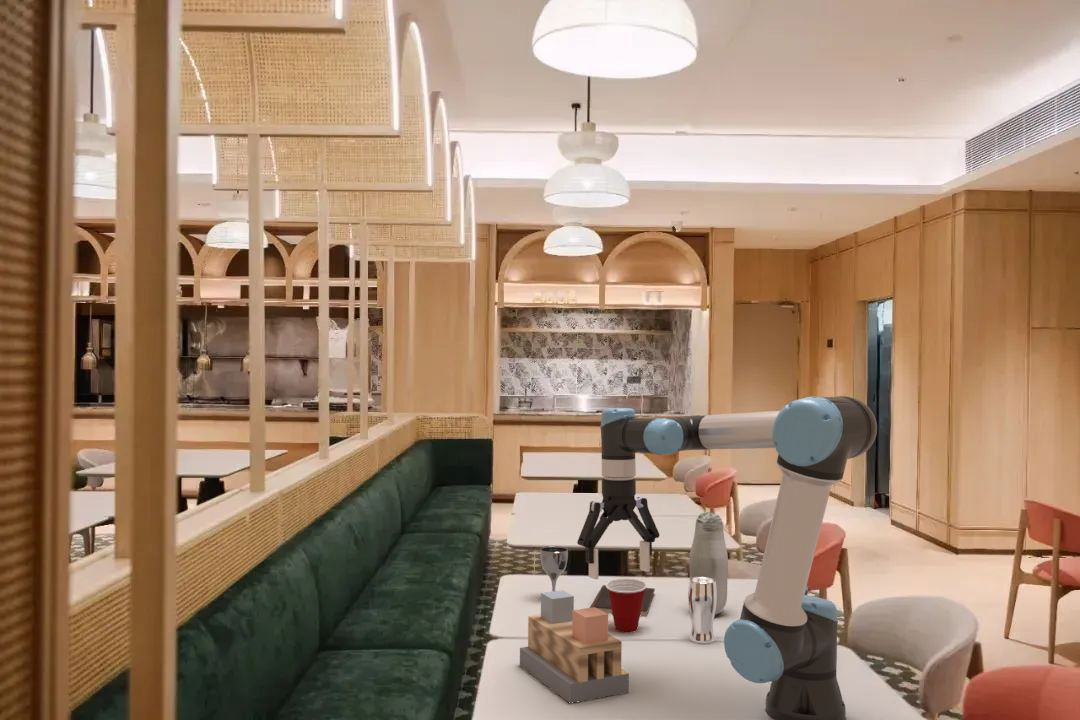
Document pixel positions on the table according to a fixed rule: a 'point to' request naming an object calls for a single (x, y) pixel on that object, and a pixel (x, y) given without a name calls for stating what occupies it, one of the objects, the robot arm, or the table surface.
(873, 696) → the table surface
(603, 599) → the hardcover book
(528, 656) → the block
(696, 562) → the grey bottle
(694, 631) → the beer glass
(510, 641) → the table surface
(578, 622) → the salmon pink cube
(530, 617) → the pallet
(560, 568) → the wine glass
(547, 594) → the grey block
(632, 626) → the plastic cup
